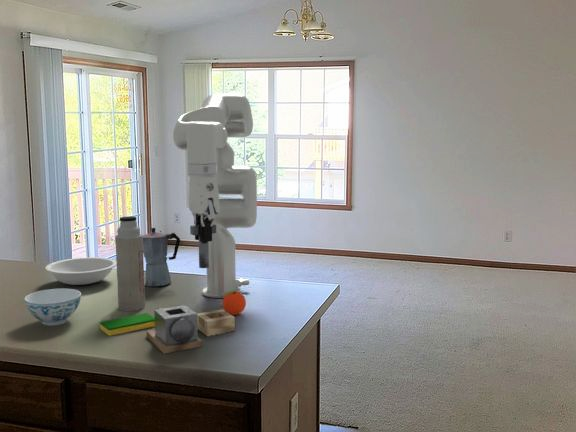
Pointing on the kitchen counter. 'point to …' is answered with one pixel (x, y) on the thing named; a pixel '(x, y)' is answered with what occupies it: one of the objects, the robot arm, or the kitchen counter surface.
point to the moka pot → (157, 257)
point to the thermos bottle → (130, 265)
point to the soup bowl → (81, 270)
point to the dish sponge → (127, 324)
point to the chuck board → (172, 347)
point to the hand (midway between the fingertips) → (203, 239)
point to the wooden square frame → (215, 322)
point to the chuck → (176, 325)
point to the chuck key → (202, 246)
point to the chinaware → (53, 305)
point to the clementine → (234, 302)
